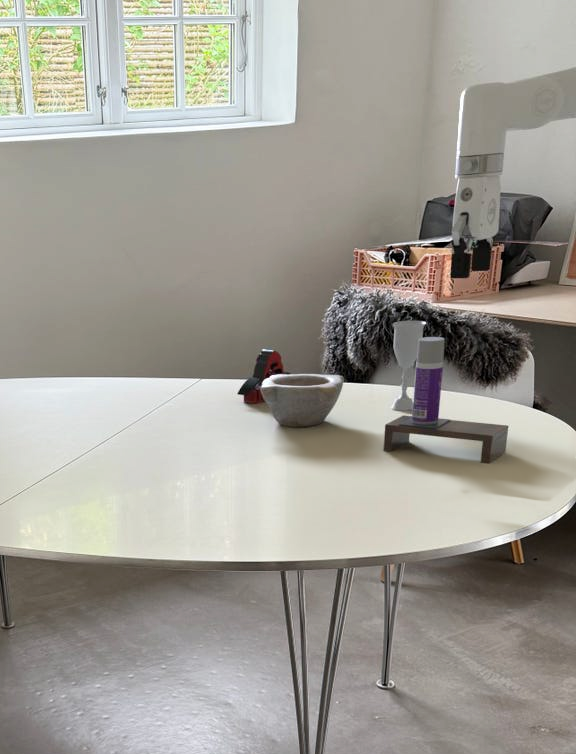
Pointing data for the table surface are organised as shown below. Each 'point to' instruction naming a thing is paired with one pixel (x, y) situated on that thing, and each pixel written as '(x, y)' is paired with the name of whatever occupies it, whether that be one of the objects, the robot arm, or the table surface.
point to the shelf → (449, 434)
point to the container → (428, 380)
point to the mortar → (301, 397)
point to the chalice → (406, 356)
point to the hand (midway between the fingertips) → (470, 274)
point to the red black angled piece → (261, 375)
